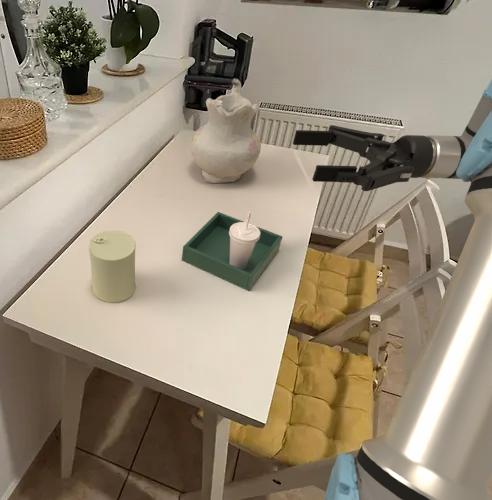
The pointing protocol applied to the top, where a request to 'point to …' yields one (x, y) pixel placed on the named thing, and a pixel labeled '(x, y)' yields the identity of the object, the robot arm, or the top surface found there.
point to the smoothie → (242, 242)
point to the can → (112, 265)
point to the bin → (218, 252)
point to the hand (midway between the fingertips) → (304, 154)
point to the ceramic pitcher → (226, 138)
